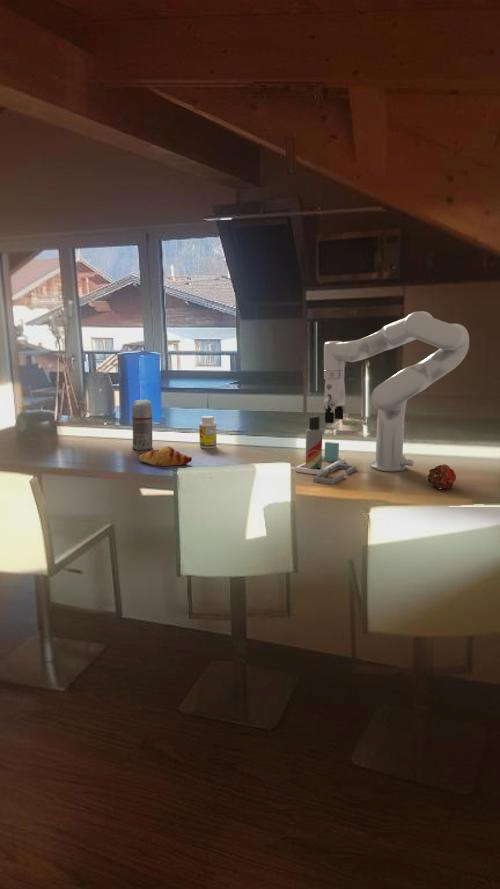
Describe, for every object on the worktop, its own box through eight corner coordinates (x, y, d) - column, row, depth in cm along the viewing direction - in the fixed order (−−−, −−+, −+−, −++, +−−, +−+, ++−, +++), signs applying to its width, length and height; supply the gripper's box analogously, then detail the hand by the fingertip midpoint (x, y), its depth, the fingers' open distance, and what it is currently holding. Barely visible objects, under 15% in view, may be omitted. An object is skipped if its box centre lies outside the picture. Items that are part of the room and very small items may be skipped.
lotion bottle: (316, 474, 236) (317, 417, 232) (302, 471, 239) (303, 416, 235) (324, 470, 240) (325, 415, 236) (310, 468, 243) (311, 414, 239)
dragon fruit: (436, 497, 213) (439, 493, 224) (460, 484, 210) (462, 480, 222) (421, 474, 214) (425, 471, 226) (445, 461, 212) (448, 458, 223)
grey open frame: (355, 469, 242) (356, 465, 241) (333, 484, 223) (333, 479, 222) (337, 467, 245) (337, 463, 245) (313, 481, 226) (313, 477, 226)
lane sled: (345, 462, 253) (345, 443, 252) (322, 475, 234) (323, 455, 232) (319, 458, 258) (319, 441, 257) (295, 471, 239) (295, 452, 237)
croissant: (136, 472, 252) (131, 456, 247) (145, 455, 259) (140, 439, 254) (190, 475, 246) (185, 458, 241) (197, 457, 254) (193, 440, 249)
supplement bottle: (198, 445, 281) (198, 415, 279) (215, 445, 283) (215, 415, 280) (200, 449, 275) (200, 418, 272) (217, 448, 276) (217, 417, 273)
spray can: (157, 447, 277) (156, 399, 273) (144, 451, 270) (142, 402, 266) (142, 445, 282) (140, 398, 277) (128, 449, 275) (126, 400, 271)
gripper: (335, 377, 239) (335, 425, 242) (351, 373, 254) (351, 417, 257) (315, 377, 242) (315, 423, 246) (333, 372, 257) (333, 416, 261)
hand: (334, 420), depth 251 cm, fingers open, 9 cm apart
